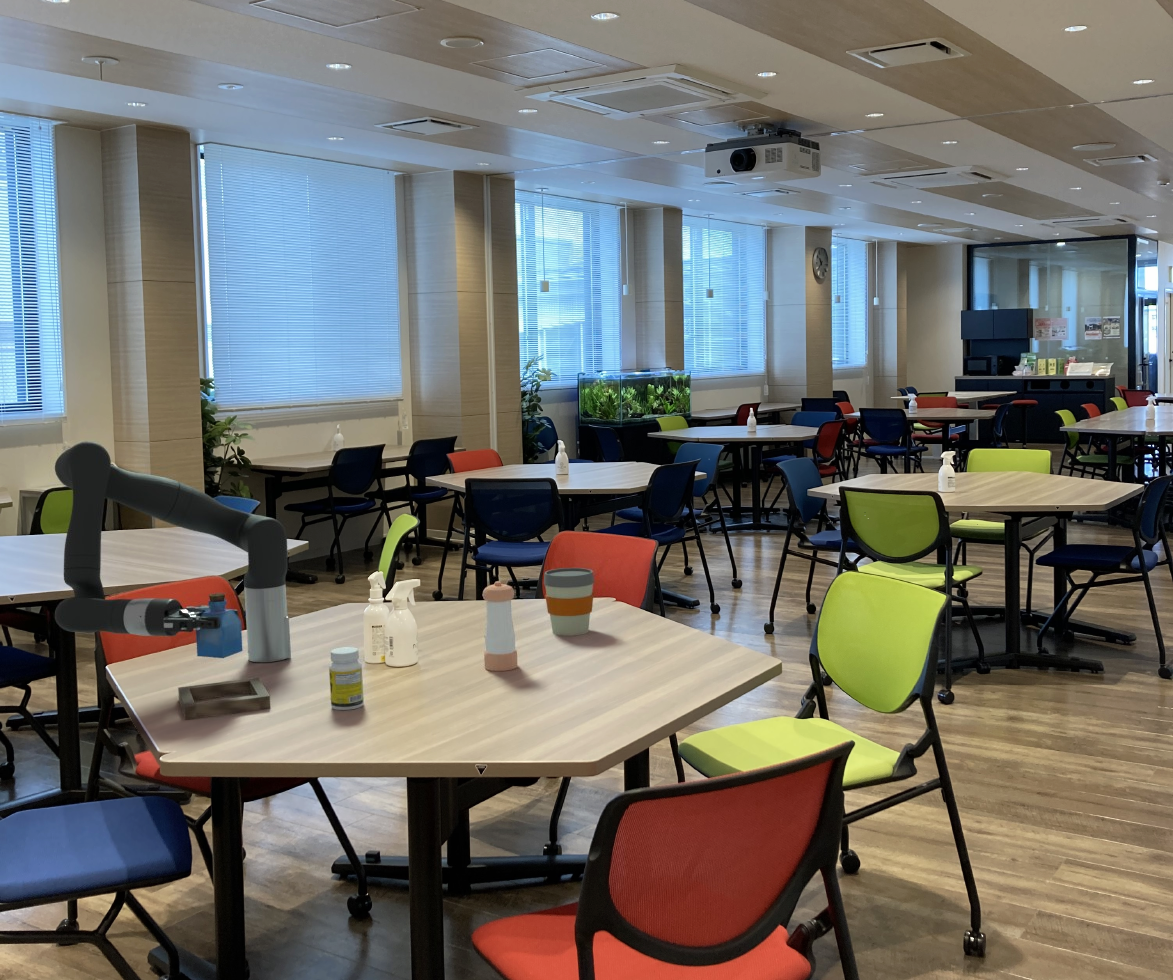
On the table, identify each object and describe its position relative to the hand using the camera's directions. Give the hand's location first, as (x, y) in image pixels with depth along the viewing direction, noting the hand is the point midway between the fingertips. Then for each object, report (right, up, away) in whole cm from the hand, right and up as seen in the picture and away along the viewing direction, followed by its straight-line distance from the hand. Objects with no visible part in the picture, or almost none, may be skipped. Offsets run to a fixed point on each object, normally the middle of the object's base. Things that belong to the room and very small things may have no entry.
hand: (228, 619), depth 234 cm
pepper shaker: (+52, -14, +25) cm, 60 cm away
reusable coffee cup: (+67, -10, +59) cm, 90 cm away
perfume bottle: (-2, -7, +1) cm, 8 cm away
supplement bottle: (+24, -17, -2) cm, 30 cm away
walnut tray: (-2, -17, +2) cm, 18 cm away
